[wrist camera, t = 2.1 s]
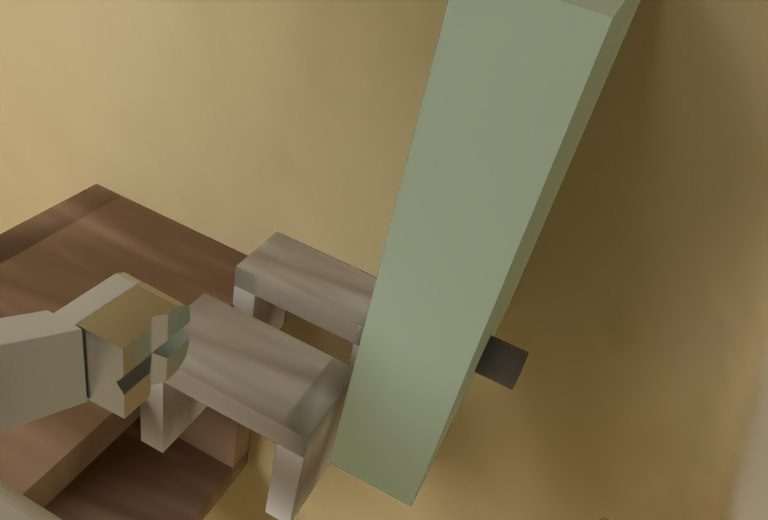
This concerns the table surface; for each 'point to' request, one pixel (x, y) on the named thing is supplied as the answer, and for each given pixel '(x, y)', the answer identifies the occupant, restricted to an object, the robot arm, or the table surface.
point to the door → (470, 220)
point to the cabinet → (183, 365)
